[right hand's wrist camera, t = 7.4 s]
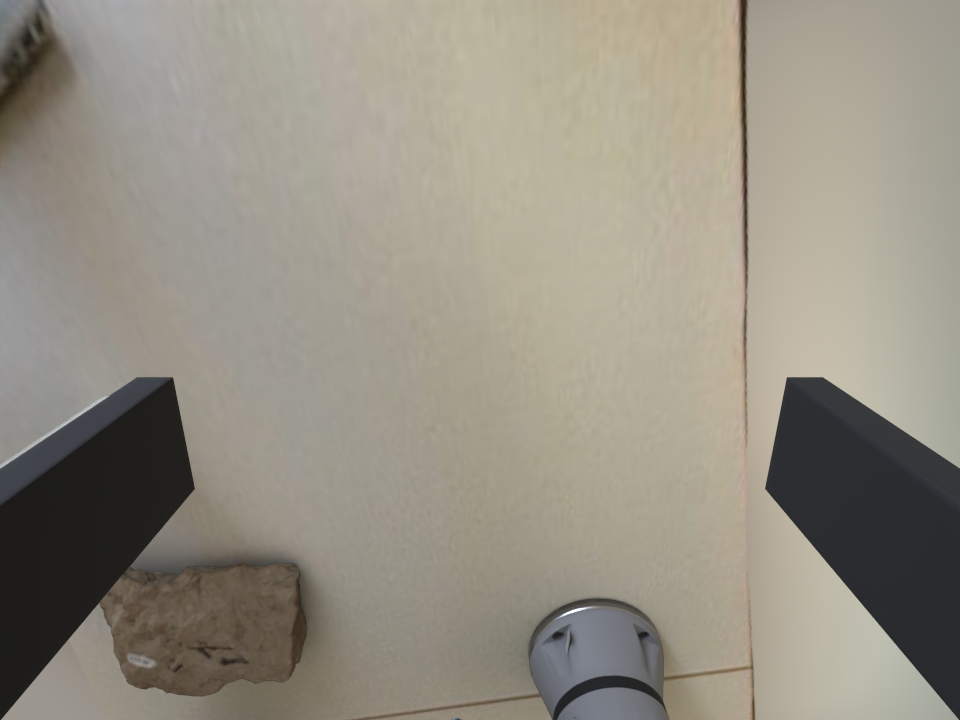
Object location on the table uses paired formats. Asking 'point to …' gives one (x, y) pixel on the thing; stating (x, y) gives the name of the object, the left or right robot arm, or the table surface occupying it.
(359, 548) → the table surface
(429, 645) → the table surface
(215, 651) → the stone
